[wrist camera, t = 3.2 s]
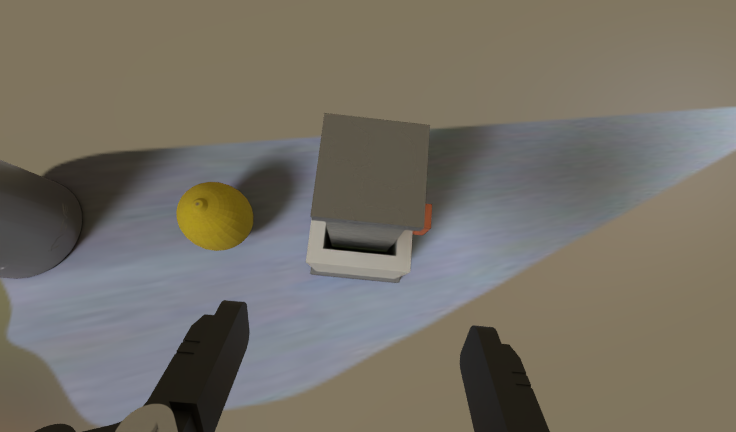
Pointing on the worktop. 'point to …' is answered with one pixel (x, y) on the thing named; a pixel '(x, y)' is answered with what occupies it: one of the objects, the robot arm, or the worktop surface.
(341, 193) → the column
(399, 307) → the worktop surface
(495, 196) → the worktop surface
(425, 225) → the stand
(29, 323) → the worktop surface
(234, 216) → the lemon
